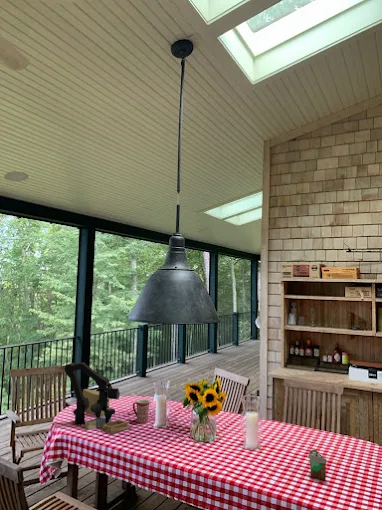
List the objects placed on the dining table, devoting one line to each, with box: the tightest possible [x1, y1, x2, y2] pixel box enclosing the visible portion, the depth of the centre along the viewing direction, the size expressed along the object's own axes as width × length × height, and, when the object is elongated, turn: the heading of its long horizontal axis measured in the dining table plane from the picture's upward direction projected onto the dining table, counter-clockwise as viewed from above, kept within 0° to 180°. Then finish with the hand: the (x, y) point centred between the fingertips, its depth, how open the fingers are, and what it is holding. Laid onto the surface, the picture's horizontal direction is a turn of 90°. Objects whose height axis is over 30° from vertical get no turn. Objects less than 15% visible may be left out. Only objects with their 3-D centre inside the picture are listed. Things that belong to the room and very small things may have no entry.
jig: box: [97, 419, 132, 435], centre depth 252 cm, size 14×16×3 cm
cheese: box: [82, 388, 110, 417], centre depth 285 cm, size 22×10×15 cm, turn 58°
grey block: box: [93, 415, 112, 428], centre depth 259 cm, size 4×10×5 cm, turn 135°
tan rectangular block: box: [84, 418, 97, 431], centre depth 252 cm, size 4×6×4 cm
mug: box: [132, 398, 151, 424], centre depth 268 cm, size 13×9×14 cm
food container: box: [307, 448, 327, 481], centre depth 194 cm, size 12×6×10 cm, turn 5°
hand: (102, 422), depth 259 cm, fingers open, 8 cm apart
